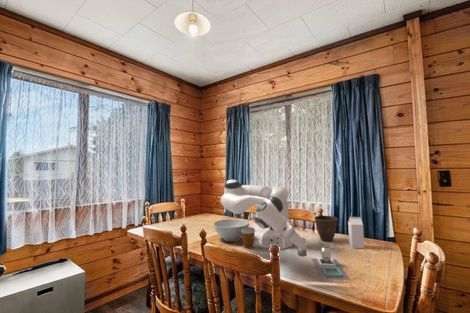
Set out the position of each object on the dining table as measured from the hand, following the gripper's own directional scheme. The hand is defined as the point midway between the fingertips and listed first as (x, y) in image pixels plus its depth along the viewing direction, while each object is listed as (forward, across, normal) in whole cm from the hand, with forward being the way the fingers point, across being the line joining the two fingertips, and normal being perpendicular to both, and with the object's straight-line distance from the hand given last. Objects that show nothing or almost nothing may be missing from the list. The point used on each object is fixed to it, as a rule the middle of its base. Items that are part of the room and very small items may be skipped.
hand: (302, 245), depth 118 cm
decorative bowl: (-15, -58, -33) cm, 68 cm away
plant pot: (+32, -44, +14) cm, 56 cm away
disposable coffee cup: (-8, -39, -26) cm, 47 cm away
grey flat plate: (+18, +2, 0) cm, 18 cm away
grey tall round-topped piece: (+17, -3, +2) cm, 18 cm away
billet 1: (+3, 0, -4) cm, 5 cm away
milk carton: (+42, -29, +23) cm, 56 cm away
